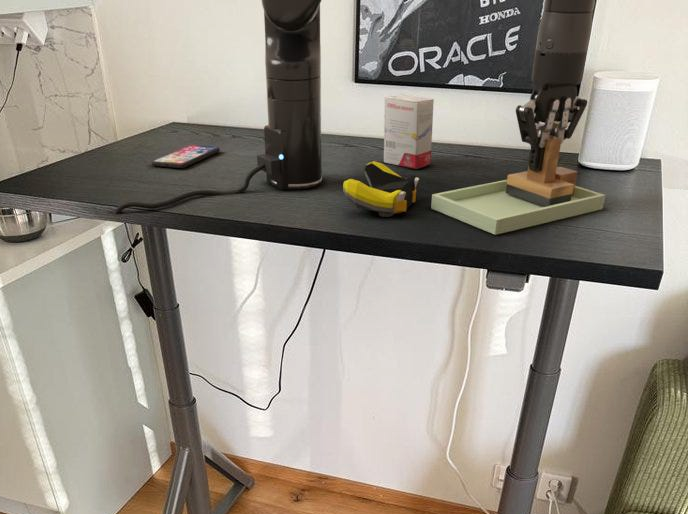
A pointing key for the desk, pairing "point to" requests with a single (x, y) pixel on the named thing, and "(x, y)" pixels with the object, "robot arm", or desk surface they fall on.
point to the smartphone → (185, 156)
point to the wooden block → (566, 176)
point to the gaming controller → (382, 190)
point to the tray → (509, 207)
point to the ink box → (408, 130)
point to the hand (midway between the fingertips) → (541, 169)
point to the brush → (542, 180)
